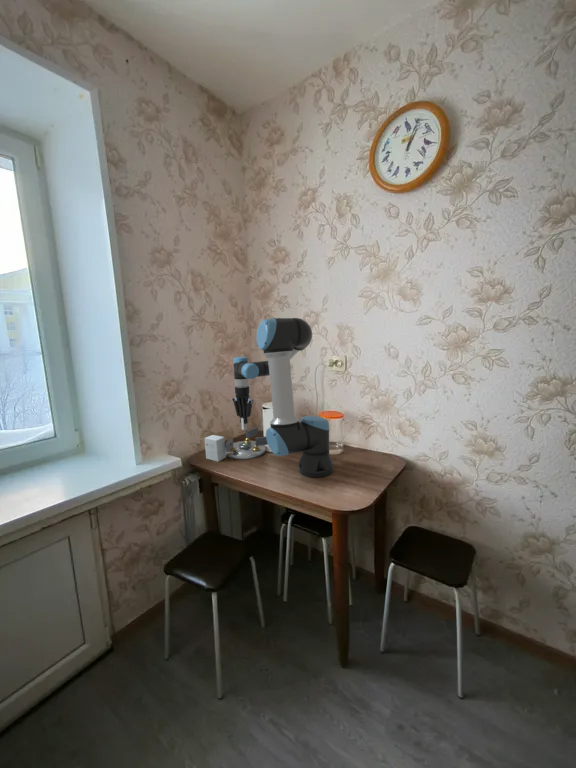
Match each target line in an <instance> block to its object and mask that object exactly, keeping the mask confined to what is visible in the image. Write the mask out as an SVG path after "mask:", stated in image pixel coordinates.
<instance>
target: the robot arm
mask: <svg viewBox="0 0 576 768" xmlns="http://www.w3.org/2000/svg"><path fill="white" fill-rule="evenodd" d="M312 331H313V330H312V327H311V326H310V325H309V323H308V322H307V321H306V320H304V319H302V318H299V317H290V318H289V317H287V318H286V317H278V318H277V317H275V318H274V317H273V318H266V319H263V320H262V321H260V322H259V325H258V327H257V330H256V344H257V347H258V349H259V350H262V351H263V356H264V357H266V358H267V360H261V361H253V362H252V361H251V362H249V360H248V357H247V356H236V357H234V358H233V362H232V363H233V364H232V365H233V376H234V377H233V378H234V381H233V382H234V393H235V397H234V398H232V402H233V404H234V410H235V412H236V415H237V417H239V419H240V424H241V431H246V430H247V429H248V427H247V426H248V422H249V421H248V418H249V417H251V415H252V409H253V408H252V407H253V403H254V399H251V398H250V380H253V379H256V378H259V377H267V376H269V382H270V395H271V396H270V397H271V402H272V403H271V404H272V406H271V407H272V413H273V418H272V420H270V423H269V424H270V425H269V426H270V427H268V428H267V429H266V431H265V436H266V439H267V443H268V445H267V446H268V447H269V449H270V451H271V452H272V454H273V455H275V456H276V457H281V456H288V455H291V454H295V453H296V454H297V453H300V452H301V455H300V458H299V462H298V466H297V467H298V469H297V470H298V472H299V474H301V475H302V476H303V477H304V476H305V477H309V478H314V479H315V478H324V477H328V476H330V475H332V474H333V473H334V470H335V469H334V463H333V460H332V457H331V454H330V431H331V430H330V426H329V425H330V423H329V421H328V420H327V419H326V418H324V417H320V416H315V415H307V416H306V415H305V416H302V417H301V418H300V419H299V418H298V417H297V416H296V411H295V402H294V401H295V400H294V391H293V381H292V369H291V359H293V358H294V356H296V355H297V353H299V352H300V351H304V350H305V349H306V348H307V347H308V346H309V345H310V343H311V342H312V338H313V332H312Z"/></svg>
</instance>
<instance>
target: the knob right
mask: <svg viewBox="0 0 576 768" xmlns="http://www.w3.org/2000/svg"><path fill="white" fill-rule="evenodd" d="M257 435H259V427H258V426H254V427H252V428H250V429H248V430H247V429H246V430H245V439H244V440H243V441H244V443H251V441H252V440H251V439H250V438H253V437H254V436H257Z"/></svg>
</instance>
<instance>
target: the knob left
mask: <svg viewBox="0 0 576 768" xmlns="http://www.w3.org/2000/svg"><path fill="white" fill-rule="evenodd" d="M233 443H234V438H228V440H227V441H226V442H225V448H226V452H230V451H235V447H233Z"/></svg>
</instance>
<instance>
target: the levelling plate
mask: <svg viewBox="0 0 576 768" xmlns="http://www.w3.org/2000/svg"><path fill="white" fill-rule="evenodd" d="M254 445H256V440H251V443H244V440H243V441H242V440H241V441H236V442H233V447H235V451H230V452H226V458H229V459H233V460H249V459H255V458H258V457H260V456H262V455H264V453H266V445H265V446H264V445H259V446H258V447H260V450H259V451H253V447H254ZM225 451H226V447H225Z"/></svg>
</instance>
